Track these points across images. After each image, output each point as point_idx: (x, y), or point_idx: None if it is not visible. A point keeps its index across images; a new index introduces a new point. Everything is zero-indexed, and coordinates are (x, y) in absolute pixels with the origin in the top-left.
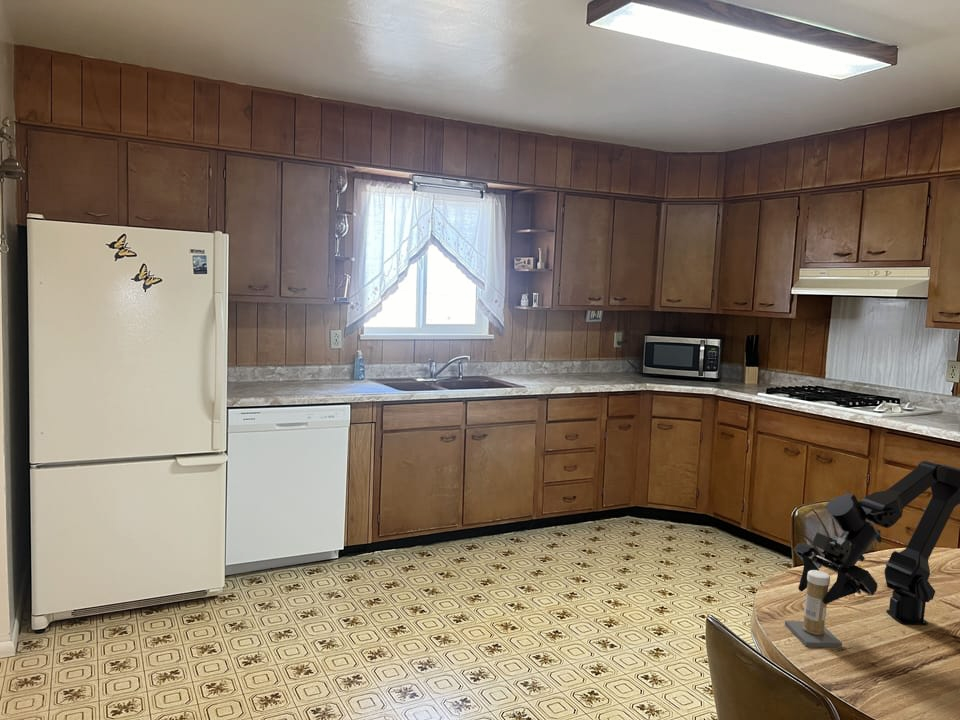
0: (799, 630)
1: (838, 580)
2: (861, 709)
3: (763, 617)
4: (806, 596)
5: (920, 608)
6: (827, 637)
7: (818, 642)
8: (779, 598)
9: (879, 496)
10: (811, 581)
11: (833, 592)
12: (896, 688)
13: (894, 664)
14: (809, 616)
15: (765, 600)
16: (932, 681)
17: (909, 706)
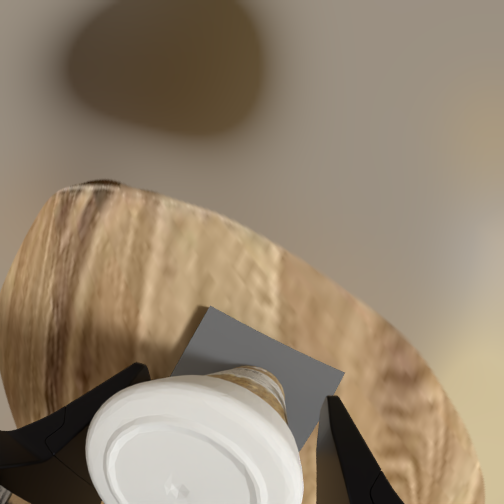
0: (273, 358)
1: (28, 453)
2: (53, 194)
3: (401, 346)
4: (262, 382)
5: None
6: None
7: (190, 340)
8: (444, 475)
9: None
10: (199, 376)
11: (78, 402)
12: (32, 312)
13: None
14: (237, 368)
15: (458, 430)
16: (21, 398)
17: (15, 272)
